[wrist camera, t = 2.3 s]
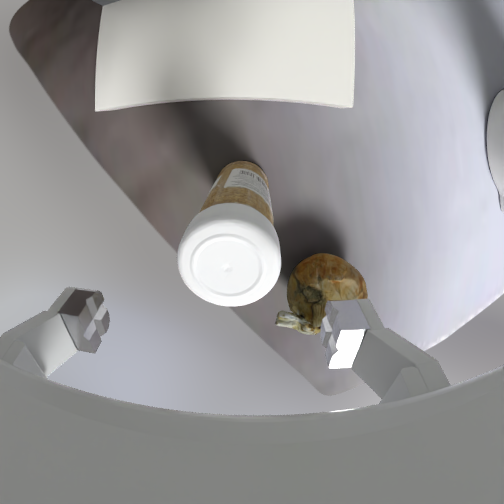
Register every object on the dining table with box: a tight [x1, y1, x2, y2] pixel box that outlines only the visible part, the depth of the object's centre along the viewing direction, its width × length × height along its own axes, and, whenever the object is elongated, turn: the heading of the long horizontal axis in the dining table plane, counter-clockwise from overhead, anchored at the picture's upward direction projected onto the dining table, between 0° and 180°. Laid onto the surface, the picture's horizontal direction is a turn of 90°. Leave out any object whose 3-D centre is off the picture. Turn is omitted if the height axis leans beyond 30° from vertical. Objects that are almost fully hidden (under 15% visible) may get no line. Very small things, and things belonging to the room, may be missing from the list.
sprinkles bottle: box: [177, 161, 281, 306], centre depth 17 cm, size 5×5×14 cm
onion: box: [275, 253, 368, 335], centre depth 24 cm, size 8×8×8 cm
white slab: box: [92, 0, 355, 111], centre depth 14 cm, size 20×11×6 cm, turn 88°
